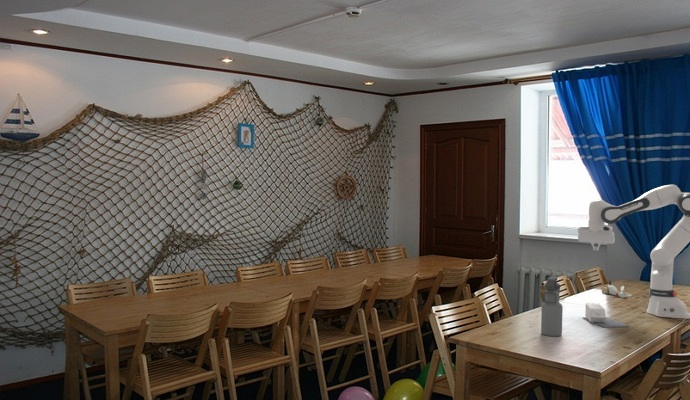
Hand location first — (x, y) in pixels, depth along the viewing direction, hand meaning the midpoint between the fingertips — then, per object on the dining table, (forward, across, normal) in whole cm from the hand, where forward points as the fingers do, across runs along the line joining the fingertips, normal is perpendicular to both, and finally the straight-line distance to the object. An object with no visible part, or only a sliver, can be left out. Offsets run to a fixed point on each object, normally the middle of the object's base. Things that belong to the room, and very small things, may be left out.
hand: (595, 250), depth 358 cm
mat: (+34, +11, -38) cm, 53 cm away
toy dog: (+35, +6, +46) cm, 58 cm away
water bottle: (+34, -8, -79) cm, 86 cm away
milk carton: (+30, +3, -28) cm, 41 cm away
